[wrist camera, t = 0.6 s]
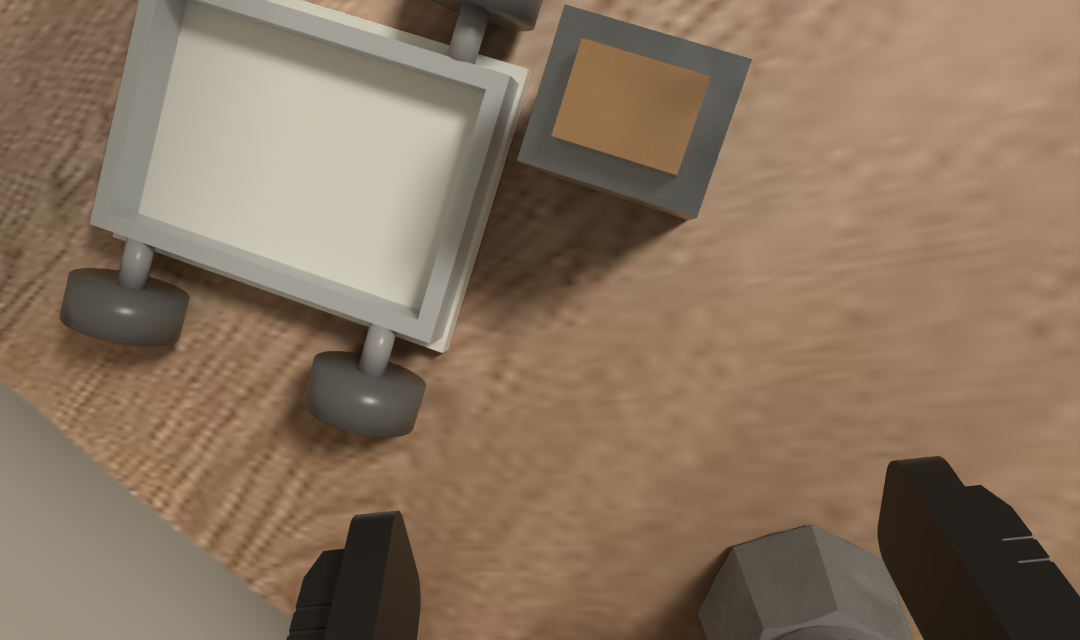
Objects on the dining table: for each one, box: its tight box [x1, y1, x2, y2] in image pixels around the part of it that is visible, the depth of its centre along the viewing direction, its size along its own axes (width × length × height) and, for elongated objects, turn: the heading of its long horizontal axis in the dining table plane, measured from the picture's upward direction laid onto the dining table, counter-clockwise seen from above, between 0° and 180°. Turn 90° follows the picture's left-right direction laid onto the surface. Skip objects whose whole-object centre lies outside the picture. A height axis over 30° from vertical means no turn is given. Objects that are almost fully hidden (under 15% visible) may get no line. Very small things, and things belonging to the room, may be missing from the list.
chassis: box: [60, 0, 542, 437], centre depth 34 cm, size 20×17×5 cm
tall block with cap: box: [517, 5, 752, 220], centre depth 29 cm, size 5×6×11 cm
